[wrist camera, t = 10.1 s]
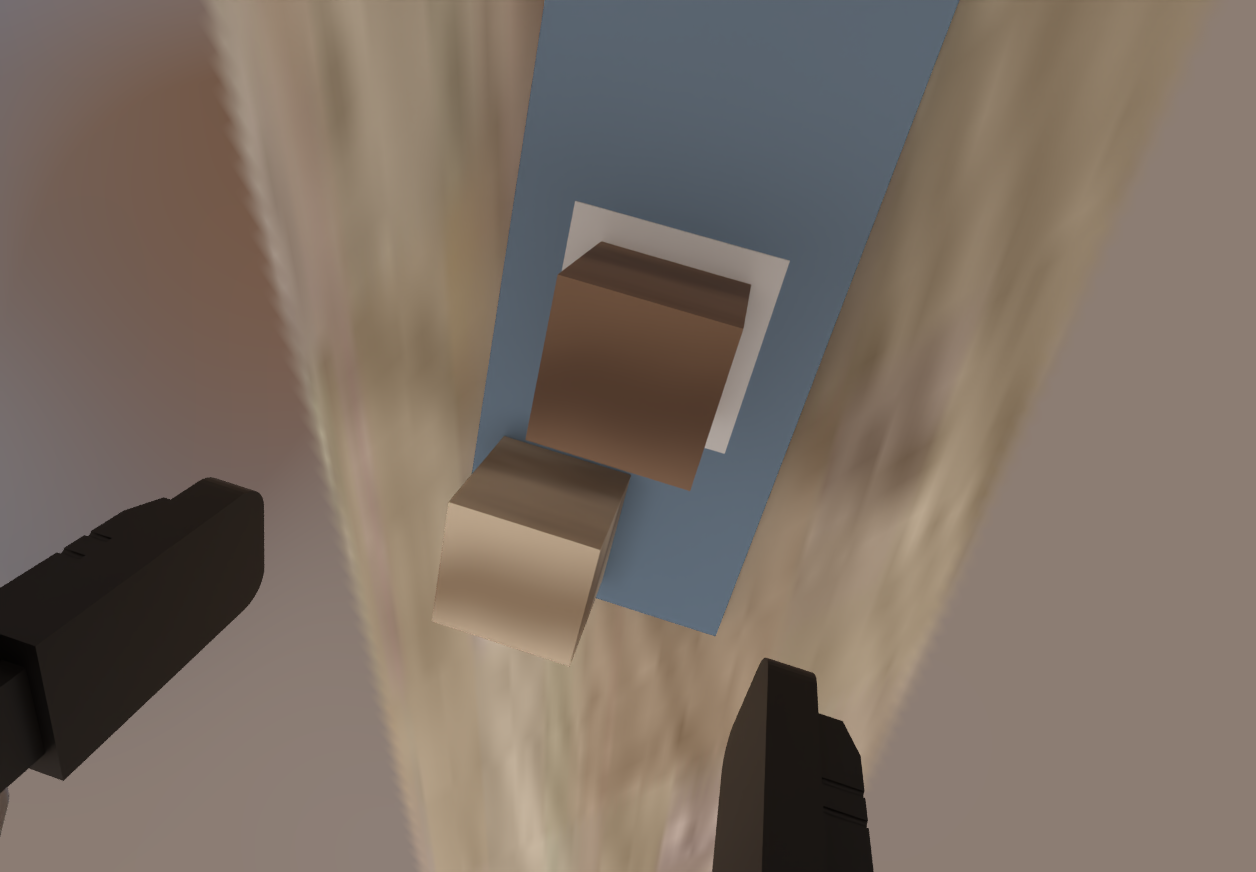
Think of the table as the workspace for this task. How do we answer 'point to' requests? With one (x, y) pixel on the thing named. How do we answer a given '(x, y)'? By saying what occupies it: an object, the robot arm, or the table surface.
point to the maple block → (528, 548)
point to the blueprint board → (708, 227)
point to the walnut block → (636, 362)
